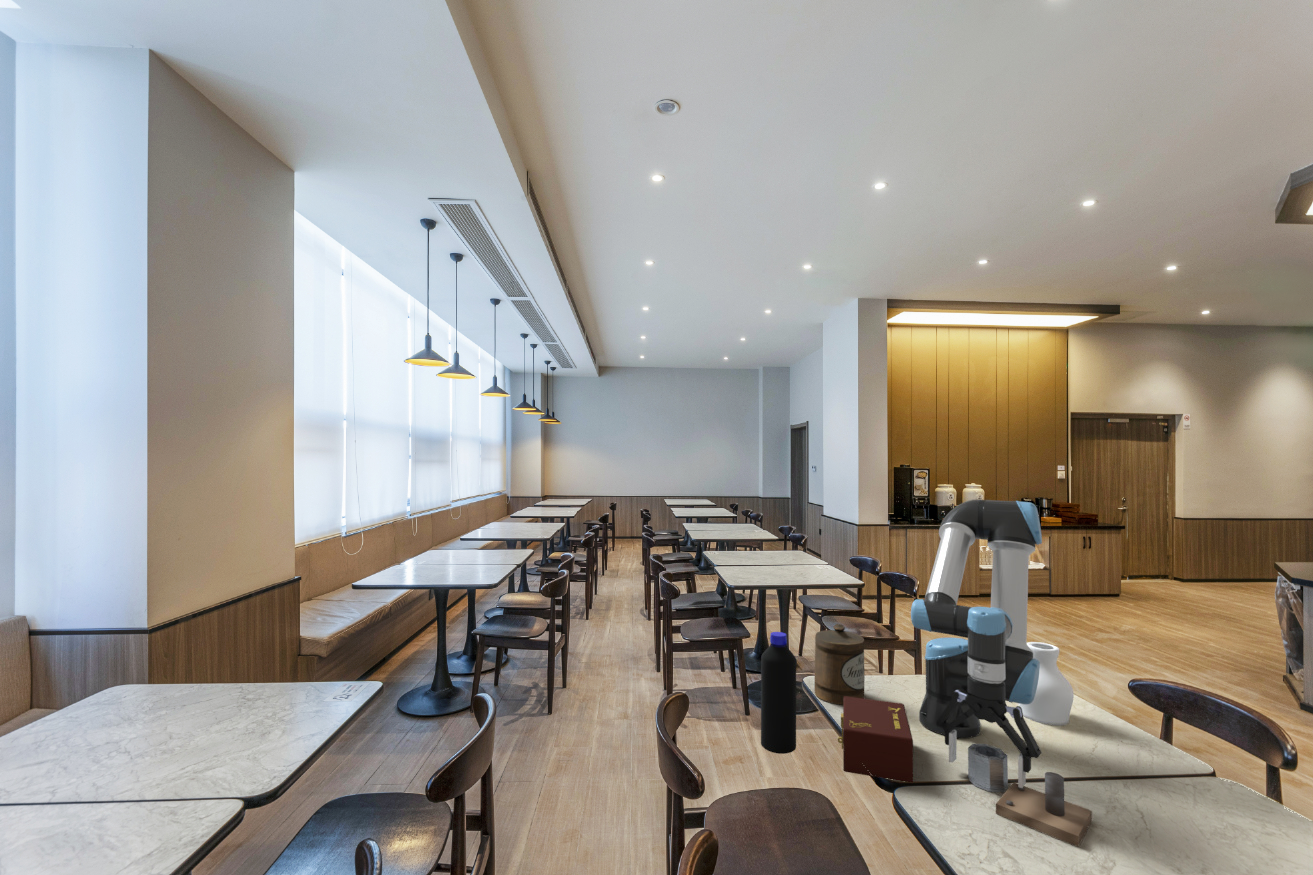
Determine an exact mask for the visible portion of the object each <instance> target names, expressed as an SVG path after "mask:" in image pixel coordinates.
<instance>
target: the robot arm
mask: <svg viewBox="0 0 1313 875" xmlns="http://www.w3.org/2000/svg"><path fill="white" fill-rule="evenodd" d="M938 535H939V538H940V540H939V544H938V548H937V552H936V555H935V559H934V564H933V565H932V566H933V567H932V570H931V574H930V577H929V581H928V584H927V588H926V592H925V596H924V599H923V598H921V599H915V600H914V601H913V602H912V604H911V607H910V608H911V609H910V619H911V624H912V625H913V627H914V628H916V629H919V630H923V631H926V632H931V633H939V634H944V635H948V636H949V635H950V636H951V635H952V636H957V637H938V638H934V639H931V640H928V642H927V643H926V645H925V656H924V659H925V662H924V663H925V694H924V697H923V700H922V704H921V706H920V708H919V711H918V714H919V715H918V716H919V717H918V718H919V722H920V724H921V725H922V726H923V727H925V728H926V729H928V730H930V731H932V732H934V733H936V734H938V735H939V734H940V735H944V743H945V745H947V746H948V762H949V763H954V762H955V761H956V760H957V738H958V739H959V738H962V739H966V738H968V739H970V738H973V737H977V736H978V735H980V734H981V732H982V731H981V730H982V728H981V721H987V722H988V723H991V724H994V723H995V724H997V725H998V727H999V728H1001V729H1002V730H1003V732H1004V733H1005V734H1006V736H1007V737H1008V738H1009V740H1010V741H1011V742H1012V744H1013V745H1014V746H1015V747H1016V749H1017V750H1018V751H1019V753H1020V754H1019V755H1018V758H1017V759H1018V760H1017V761H1018V762H1017V763H1018V766H1017V767H1018V768H1017V771H1018V772H1017V774H1018V775H1017V776H1018V778H1017V779H1018V780H1017V784H1018V787H1020V788H1023V787H1024V786H1025V785H1026V782H1027V781H1026V780H1027V777H1026V774H1027V773H1028V774H1029V773H1030V771H1032V770H1031V769H1032V758H1034V759H1038V758H1040V756H1041V754H1042V750H1041V749H1040V747H1039V745H1038V743H1037V740H1036V739H1035V737H1034V735H1033V733H1032V731H1031V730H1030V728H1029V726H1028V724H1027V721H1026V719H1025V717H1024V716H1023V712H1022V708H1021V707H1020V706H1019V705H1017V706H1008V705H1007V702H1009V703H1014V704H1015V703H1016V704H1018V703H1020V704H1030V703H1032V701H1033V700H1034V697H1035V694H1036V690H1037V685H1038V679H1039V669H1040V662H1039V661H1038V660H1037V659H1035V658H1034V659H1033V651H1032V650H1031V649H1030V648H1029V647H1028V645H1027V643H1028V640H1027V637H1028V633H1027V632H1028V604H1029V603H1028V601H1029V598H1028V596H1029V594H1028V593H1029V561H1030V560H1029V558H1030V555H1032V554H1033V553H1034V552H1036V545H1038V546H1039V545H1042V544H1043V536H1042V529H1041V523H1040V516H1039V512H1038V508H1037V506H1036V505H1035V504H1034V503H1032V502H1030V501H1029V502H1028V501H1019V500H992V499H976V498H975V499H971V500H970V499H969V500H967V501H964V502H962V503H960V504H958V505H957V506H955V507H953V508H952V509H951V510H950V511H949V512H948V513H947V514H946V515H945V517H944V518H943V519H942V521H941V523H940V525H939V529H938ZM976 540H982V541H983V540H985V541H987V547H988V548H989V549H990V550H991V551H992V567H991V568H992V569H991V571H992V572H991V586H990V587H991V588H990V589H991V592H990V607H988V606H965V605H959V604H958V600H959V596H960V595H959V594H960V591H961V586H962V581H963V577H964V573H965V569H966V564H967V559H968V555H969V551H970V550H969V549H970V547H971V546H972V545H973V544H974V543H975V542H976ZM965 638H967V639H965ZM1007 713H1008V714H1009V715H1010V717H1011V718H1012V719H1014V723H1015V725H1016V726H1017V729H1018V730H1019V732H1020V734H1021V736H1020V734H1019V733H1018V732H1017V731H1016V729H1015V728H1014V726H1013V725H1012V724H1011V722H1010V721H1009V719H1008V718H1007V716H1006V714H1007ZM980 720H981V721H980Z"/></svg>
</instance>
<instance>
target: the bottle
mask: <svg viewBox="0 0 1313 875" xmlns="http://www.w3.org/2000/svg"><path fill="white" fill-rule="evenodd" d="M769 636H770V637H769V643H770V644H769V646H768V647H767V648H766V649H765V650H764V651H763V653H762V654H761V657H760V659H761V660H760V666H761V667H760V690H761V691H760V745H761V747H763V749H765V750H766V751H768V752H770V753H773V754H779V755H782V754H785V755H786V754H791V753H793V752H795V750H796V748H797V658H796V655H795V654H794V653H793V652H792V651H791V650H790V649H789V647H788V637H787V633H785V632H782V631H772V632H770V635H769Z"/></svg>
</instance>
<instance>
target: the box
mask: <svg viewBox="0 0 1313 875" xmlns="http://www.w3.org/2000/svg"><path fill="white" fill-rule="evenodd" d="M842 707H843V708H842V709H843V712H840V727H841V736H838V737H837V742H838V743H839V744H841V749H842V750H843V752H842V754H843V755H842V756H843V757H842V758H843V760H842V761H843V766H842V767H843V769H842V771H843V772H844V773H851V774H856V775H860V776H861V775H863V776H868V777H873V778H880V779H885V778H888V779H887V780H891V779H893V780H892V781H897V782H903V781H905V782H904V783H909V784H913V783H914V739H913V735H912V731H911V727H910V723H909V719H908V716H907V711H906V707H905V704H904V703H900V702H892V701H886V700H877V699H876V700H875V699H869V698H864V699H863V698H855V697H847V696H844V698H843V705H842ZM862 763H863V764H862ZM863 765H865V766H863ZM865 767H866V768H865ZM867 770H869V771H867ZM869 772H870V773H871V774H872V775H873V776H871V775H870V773H869ZM875 775H876V777H875Z"/></svg>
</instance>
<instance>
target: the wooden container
mask: <svg viewBox="0 0 1313 875" xmlns="http://www.w3.org/2000/svg"><path fill="white" fill-rule="evenodd" d="M845 629H846V627H845V625H843V624H842V623H835V624H834V625H833V629H830V630H828V629H825V630H820V631H817V632H816V633H815V635H814V636H815V637H814V638H815V639H814V640H815V641H814V644H815V646H814V647H815V648H814V652H815V653H814V695H815V696H816V697H817V698H818V699H820V700H822V701H824V702H827V703H830V704H834V705H840V706H841V705H842V706H843V698H844V696H847V697H855V698H863V699H865V679H866V678H865V676H866V675H865V673H866V672H865V639H864V637H862V635H860V634H858V633H854V632H851V631H845Z"/></svg>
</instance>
